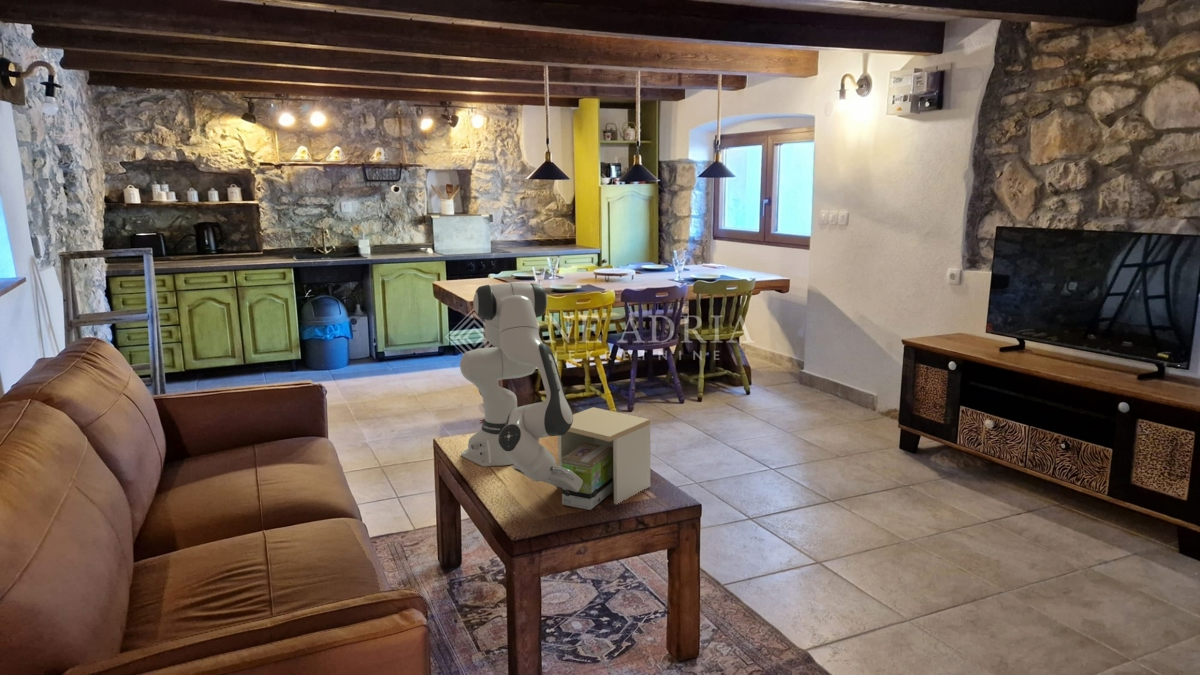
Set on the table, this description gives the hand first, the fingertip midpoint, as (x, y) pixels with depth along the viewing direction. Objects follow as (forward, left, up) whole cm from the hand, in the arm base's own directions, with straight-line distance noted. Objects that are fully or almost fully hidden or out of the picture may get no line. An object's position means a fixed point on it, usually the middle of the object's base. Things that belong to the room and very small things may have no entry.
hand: (563, 486), depth 219 cm
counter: (0, +18, -6) cm, 19 cm away
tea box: (+2, +9, -6) cm, 11 cm away
